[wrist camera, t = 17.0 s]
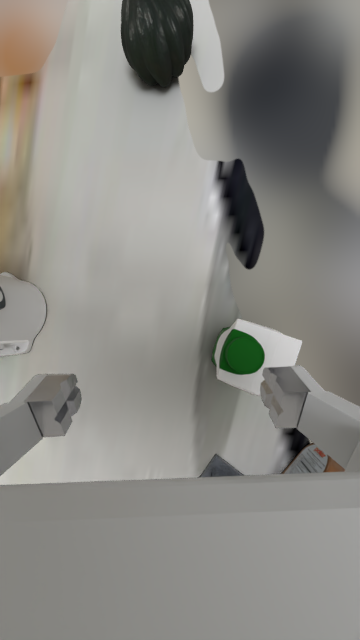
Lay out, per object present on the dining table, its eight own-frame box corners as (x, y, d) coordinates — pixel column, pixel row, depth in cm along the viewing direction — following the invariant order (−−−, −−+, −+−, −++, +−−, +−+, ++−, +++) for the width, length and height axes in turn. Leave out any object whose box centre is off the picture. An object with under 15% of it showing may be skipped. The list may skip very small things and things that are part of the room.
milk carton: (220, 322, 43) (237, 309, 23) (263, 337, 42) (321, 338, 22) (205, 363, 43) (211, 386, 23) (249, 379, 41) (295, 418, 22)
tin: (273, 505, 39) (294, 550, 31) (260, 492, 40) (276, 534, 31) (325, 443, 39) (359, 471, 31) (311, 431, 40) (341, 456, 31)
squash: (217, 38, 42) (176, -100, 32) (164, 94, 43) (107, -24, 33) (185, 66, 53) (147, -31, 43) (143, 110, 54) (95, 25, 44)
